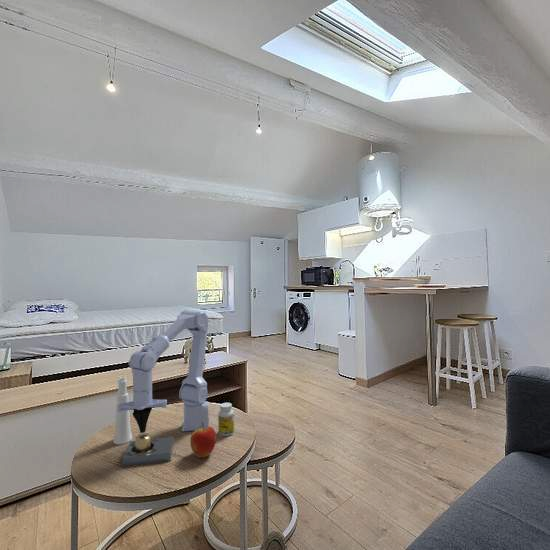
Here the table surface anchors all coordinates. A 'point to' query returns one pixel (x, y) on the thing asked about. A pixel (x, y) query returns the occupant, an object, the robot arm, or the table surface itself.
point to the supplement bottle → (226, 419)
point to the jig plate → (149, 452)
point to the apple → (203, 441)
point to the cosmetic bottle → (122, 415)
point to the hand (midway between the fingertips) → (143, 431)
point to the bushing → (142, 443)
